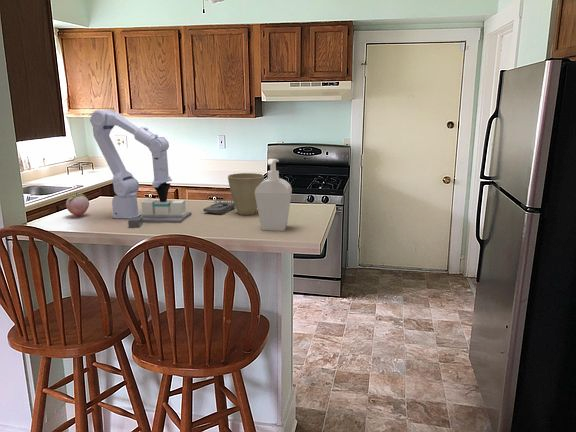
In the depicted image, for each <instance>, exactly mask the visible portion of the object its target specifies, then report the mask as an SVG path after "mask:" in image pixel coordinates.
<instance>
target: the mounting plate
mask: <svg viewBox="0 0 576 432" xmlns="http://www.w3.org/2000/svg"><path fill="white" fill-rule="evenodd" d="M156 201H158V200H157V199H145V200H143V201H141V203H140V204H141V213H142V214H141V217H142V221H143V223H158V224H160V223H163V224H165V223H167V224H168V223H169V224H170V223H171V224H180V223H182V222H183V221H185V220H186V219H187V218H189V217H190V216H192V211H187V210H186V209H187V208H186V200H181V199H180V200H177V199H175V200H172V202H171V203H170V208H171V214H169V215H155V207H154V203H155V202H156Z"/></svg>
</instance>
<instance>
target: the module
mask: <svg viewBox="0 0 576 432" xmlns="http://www.w3.org/2000/svg"><path fill="white" fill-rule="evenodd" d="M172 201H173V200H172V199H167V201H166V202H160V199H158V200H157V201H156V202H155V203H154V207H155V215H169V214H171V208H170V203H171V202H172Z"/></svg>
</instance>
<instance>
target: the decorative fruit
mask: <svg viewBox="0 0 576 432" xmlns="http://www.w3.org/2000/svg"><path fill="white" fill-rule="evenodd" d="M65 208H66V209H67V211H68V212H69V213H70V214H71V215H73V216H77V217H81V216H82V215H83V214H85V213H86V212H87V211H88V209H89V208H90V200H89V199H88V198H87V197H86V195H85V194H83V193H79V194H78V193H77V192H76V193H75V195H73V196H70V197H69V198H67V200H66V201H65Z"/></svg>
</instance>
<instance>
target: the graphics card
mask: <svg viewBox="0 0 576 432" xmlns="http://www.w3.org/2000/svg"><path fill="white" fill-rule="evenodd" d="M213 200H214V203H213V204H211V205H209V206H207V207H204V208H203V212H204V213H206V212H207V213H209V214H225V213H227V212H230V211H231V210H236V207H235V204H234V201H233V199H213Z"/></svg>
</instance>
